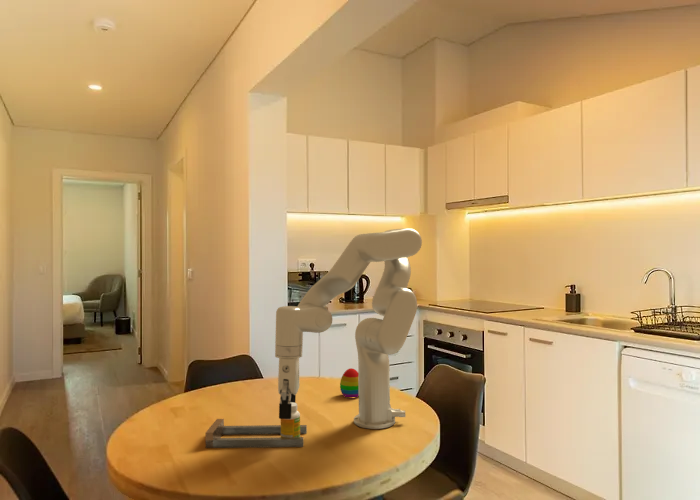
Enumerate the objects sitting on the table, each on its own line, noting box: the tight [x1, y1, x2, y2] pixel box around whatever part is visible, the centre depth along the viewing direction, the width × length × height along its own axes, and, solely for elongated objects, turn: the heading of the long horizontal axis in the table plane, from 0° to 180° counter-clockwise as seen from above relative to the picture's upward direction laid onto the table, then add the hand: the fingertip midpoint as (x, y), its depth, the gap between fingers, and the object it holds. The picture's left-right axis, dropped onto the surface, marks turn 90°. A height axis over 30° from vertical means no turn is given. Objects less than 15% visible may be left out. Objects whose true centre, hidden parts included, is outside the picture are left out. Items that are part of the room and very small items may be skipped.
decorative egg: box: [339, 368, 359, 398], centre depth 176 cm, size 8×8×10 cm
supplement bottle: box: [280, 402, 301, 437], centre depth 135 cm, size 5×5×10 cm
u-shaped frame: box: [205, 418, 308, 449], centre depth 135 cm, size 26×11×4 cm, turn 90°
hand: (287, 412), depth 135 cm, fingers open, 9 cm apart
